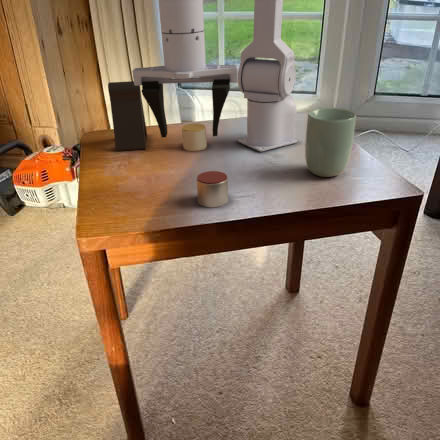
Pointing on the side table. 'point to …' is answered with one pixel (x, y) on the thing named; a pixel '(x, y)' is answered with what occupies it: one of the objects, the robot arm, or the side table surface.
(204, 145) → the pale yellow short cylinder
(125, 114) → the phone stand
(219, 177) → the cylinder
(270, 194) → the side table surface
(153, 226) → the side table surface
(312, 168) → the cup
